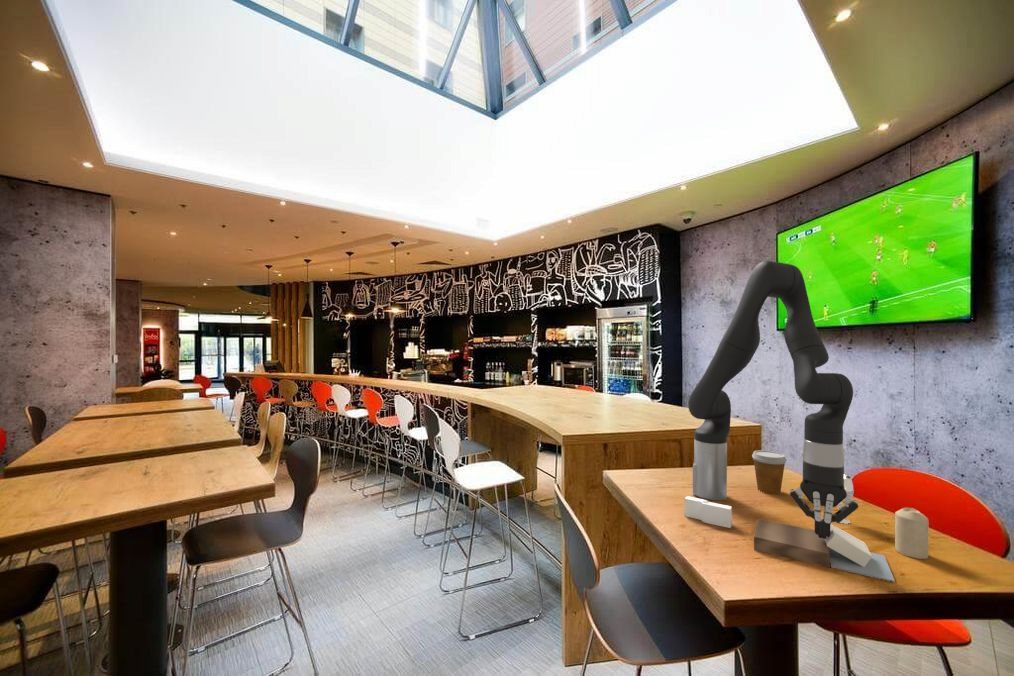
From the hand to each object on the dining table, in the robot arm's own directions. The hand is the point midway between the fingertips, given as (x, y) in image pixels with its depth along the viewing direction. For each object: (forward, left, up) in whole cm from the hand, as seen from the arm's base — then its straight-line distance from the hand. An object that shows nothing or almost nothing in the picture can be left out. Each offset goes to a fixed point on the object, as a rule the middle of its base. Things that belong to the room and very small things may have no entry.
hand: (822, 537), depth 96 cm
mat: (+6, +1, -4) cm, 8 cm away
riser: (-6, 0, -4) cm, 7 cm away
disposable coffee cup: (-12, +41, -4) cm, 43 cm away
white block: (+4, +1, -2) cm, 4 cm away
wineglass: (+5, +26, -4) cm, 26 cm away
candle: (+17, +13, -4) cm, 22 cm away
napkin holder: (-25, +6, -5) cm, 26 cm away
